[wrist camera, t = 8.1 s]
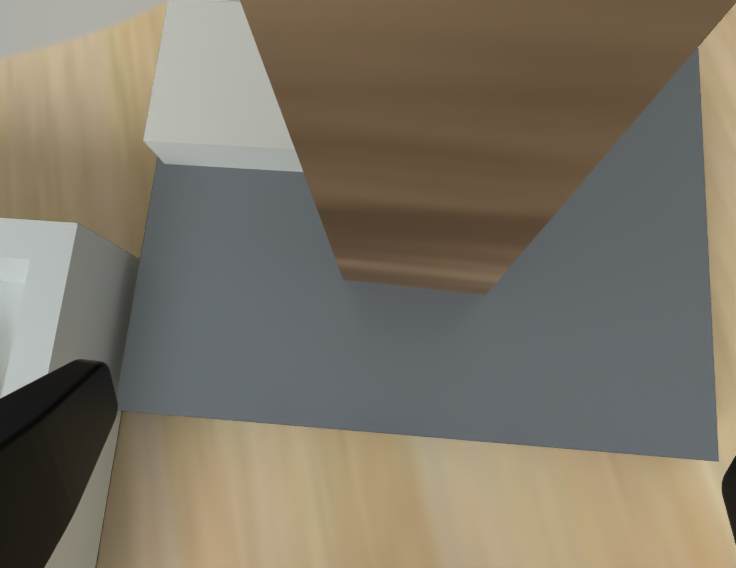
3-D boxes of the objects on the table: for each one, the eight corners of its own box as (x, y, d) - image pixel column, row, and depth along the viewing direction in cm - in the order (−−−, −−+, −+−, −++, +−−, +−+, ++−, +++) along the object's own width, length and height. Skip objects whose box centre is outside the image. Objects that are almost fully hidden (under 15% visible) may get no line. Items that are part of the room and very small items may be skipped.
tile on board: (313, 172, 17) (305, 149, 15) (164, 164, 17) (143, 141, 15) (327, 38, 18) (322, 4, 16) (186, 31, 18) (168, -2, 16)
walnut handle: (486, 294, 16) (902, -194, 3) (343, 280, 16) (154, -231, 3) (495, 161, 16) (853, -672, 4) (360, 149, 17) (265, -672, 4)
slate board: (688, 456, 16) (718, 461, 14) (138, 410, 17) (114, 410, 15) (674, 76, 18) (698, 47, 17) (196, 53, 19) (180, 24, 18)
